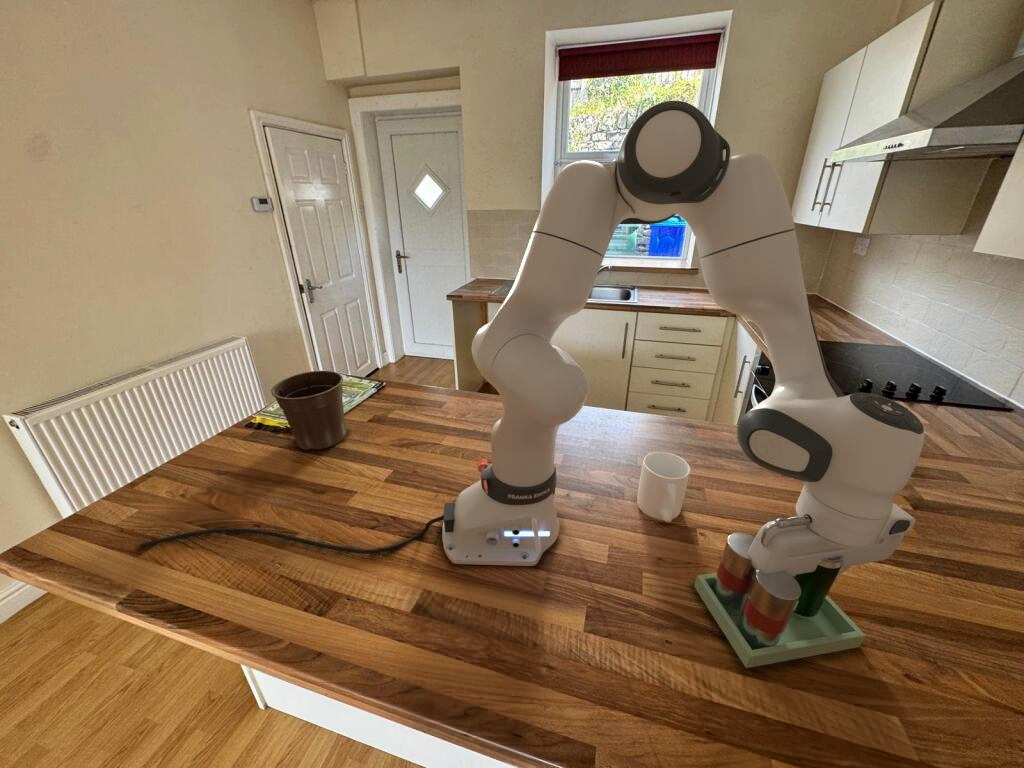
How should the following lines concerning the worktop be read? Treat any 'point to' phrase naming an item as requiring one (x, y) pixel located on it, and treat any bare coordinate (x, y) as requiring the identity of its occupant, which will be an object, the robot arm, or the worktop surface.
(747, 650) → the can tray
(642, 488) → the mug
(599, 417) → the worktop surface
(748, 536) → the silver can left
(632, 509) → the worktop surface
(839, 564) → the beer can
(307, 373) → the plant pot
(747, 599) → the silver can right
